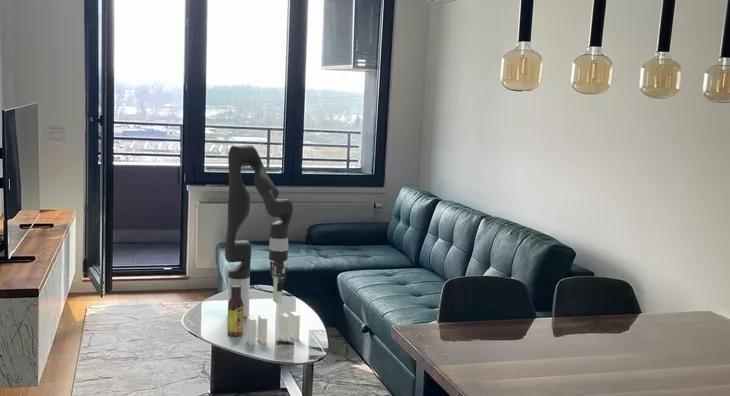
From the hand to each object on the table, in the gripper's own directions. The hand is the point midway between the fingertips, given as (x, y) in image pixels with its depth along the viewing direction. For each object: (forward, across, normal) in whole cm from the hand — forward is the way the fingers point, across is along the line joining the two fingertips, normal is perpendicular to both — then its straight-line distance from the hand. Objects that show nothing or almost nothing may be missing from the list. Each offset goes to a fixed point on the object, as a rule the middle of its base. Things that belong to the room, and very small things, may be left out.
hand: (277, 289), depth 280 cm
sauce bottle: (+19, -4, -16) cm, 25 cm away
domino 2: (+18, +8, -9) cm, 22 cm away
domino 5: (+18, +8, +5) cm, 21 cm away
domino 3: (+5, 0, 0) cm, 5 cm away
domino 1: (+18, +8, -13) cm, 24 cm away
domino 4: (+18, +8, 0) cm, 20 cm away
